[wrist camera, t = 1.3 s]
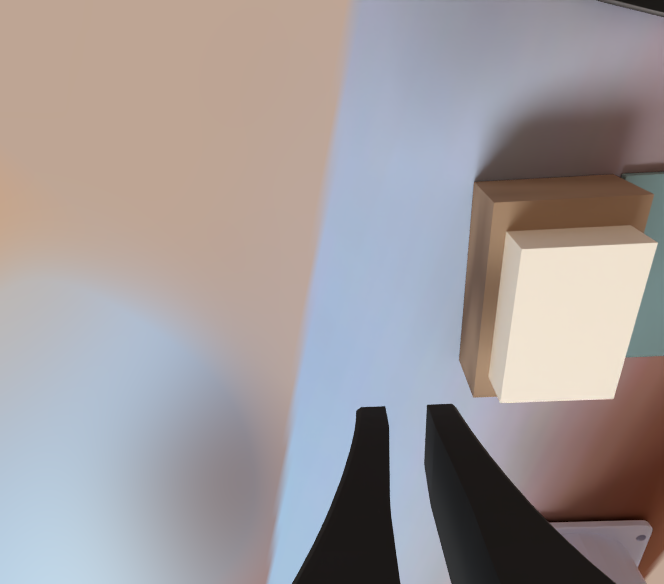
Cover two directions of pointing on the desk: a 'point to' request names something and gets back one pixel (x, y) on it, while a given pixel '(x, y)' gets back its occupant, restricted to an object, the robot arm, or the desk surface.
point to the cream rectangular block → (567, 311)
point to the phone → (640, 5)
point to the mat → (651, 274)
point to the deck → (529, 214)
